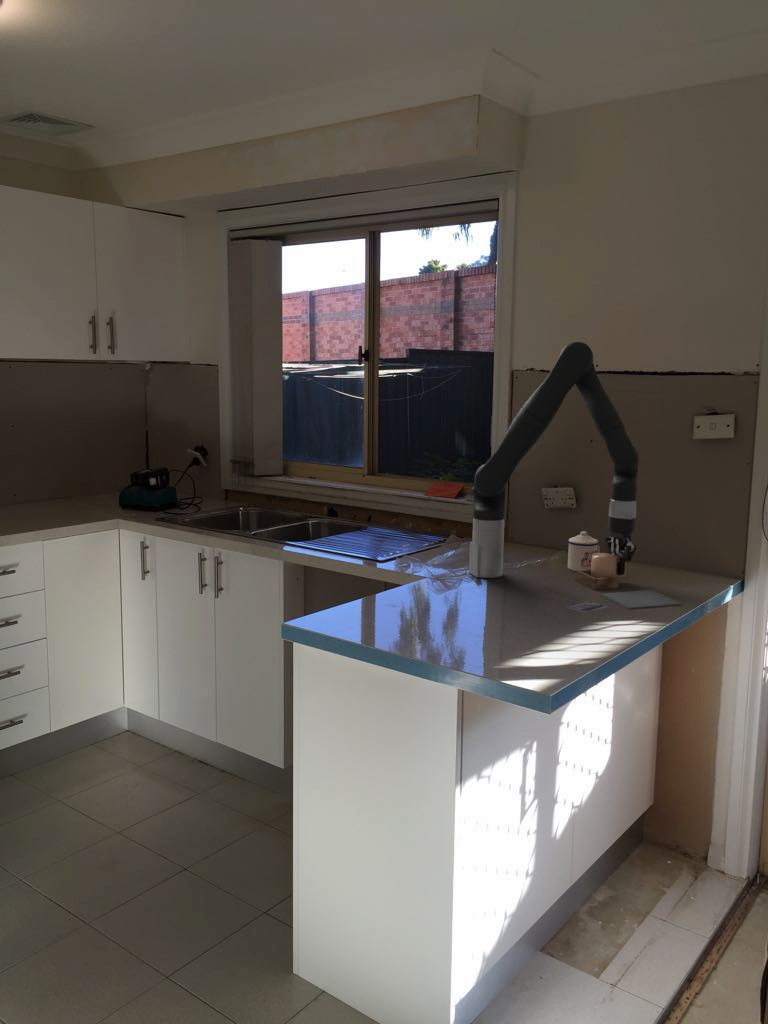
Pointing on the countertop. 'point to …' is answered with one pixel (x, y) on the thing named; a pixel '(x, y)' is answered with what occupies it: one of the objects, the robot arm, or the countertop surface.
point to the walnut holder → (595, 580)
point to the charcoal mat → (640, 599)
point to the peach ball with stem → (605, 565)
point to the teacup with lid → (581, 551)
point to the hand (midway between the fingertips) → (618, 573)
